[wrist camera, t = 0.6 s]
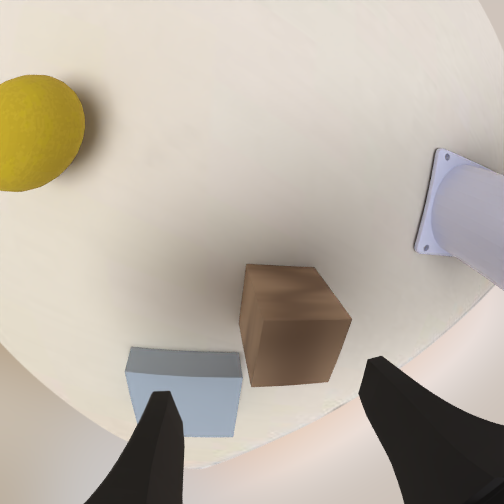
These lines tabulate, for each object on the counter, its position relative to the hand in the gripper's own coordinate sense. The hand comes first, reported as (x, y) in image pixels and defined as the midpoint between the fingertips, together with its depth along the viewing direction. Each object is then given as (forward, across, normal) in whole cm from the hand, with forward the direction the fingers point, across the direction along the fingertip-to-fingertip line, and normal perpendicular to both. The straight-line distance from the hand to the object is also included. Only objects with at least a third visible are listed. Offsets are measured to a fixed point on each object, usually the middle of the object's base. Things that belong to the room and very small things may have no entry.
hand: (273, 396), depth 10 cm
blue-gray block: (+10, +6, +10) cm, 15 cm away
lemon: (+10, +10, -10) cm, 17 cm away
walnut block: (+10, -2, +2) cm, 10 cm away
